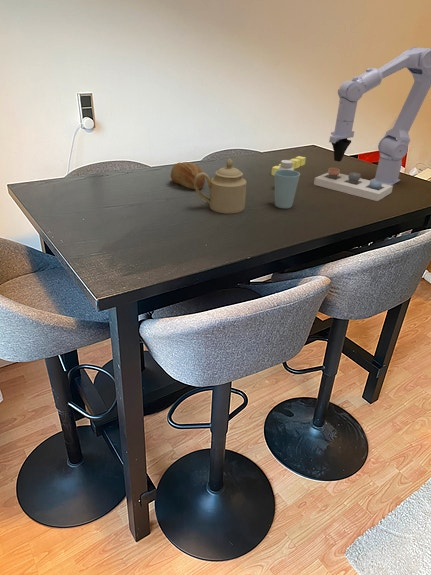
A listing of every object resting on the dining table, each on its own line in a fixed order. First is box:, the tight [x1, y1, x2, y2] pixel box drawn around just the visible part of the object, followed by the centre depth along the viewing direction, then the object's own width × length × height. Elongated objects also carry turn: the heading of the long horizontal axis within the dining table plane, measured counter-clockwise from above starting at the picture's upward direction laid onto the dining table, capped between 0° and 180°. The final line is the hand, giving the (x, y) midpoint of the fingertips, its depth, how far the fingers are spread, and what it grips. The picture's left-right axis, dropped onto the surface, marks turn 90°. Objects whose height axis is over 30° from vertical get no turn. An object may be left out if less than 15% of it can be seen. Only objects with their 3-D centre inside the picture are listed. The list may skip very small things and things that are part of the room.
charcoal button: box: [348, 171, 362, 185], centre depth 149 cm, size 4×4×4 cm
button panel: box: [313, 172, 394, 202], centre depth 150 cm, size 12×24×2 cm, turn 49°
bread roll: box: [170, 161, 206, 190], centre depth 147 cm, size 10×15×8 cm, turn 41°
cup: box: [274, 170, 301, 209], centre depth 132 cm, size 8×8×10 cm
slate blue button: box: [369, 180, 382, 190], centre depth 145 cm, size 4×4×4 cm
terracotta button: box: [327, 167, 341, 180], centre depth 154 cm, size 4×4×4 cm
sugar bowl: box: [194, 158, 247, 215], centre depth 127 cm, size 15×11×15 cm
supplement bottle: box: [278, 159, 295, 171], centre depth 146 cm, size 5×5×10 cm
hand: (337, 160), depth 150 cm, fingers closed
